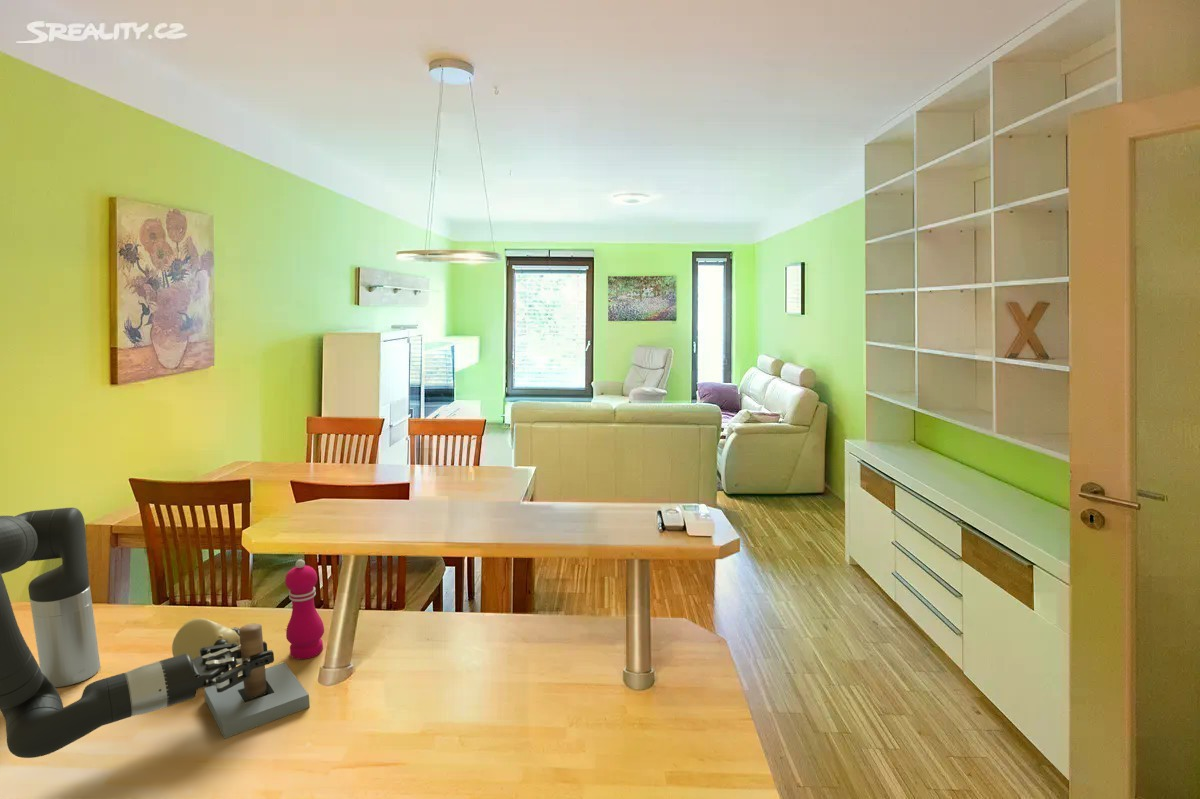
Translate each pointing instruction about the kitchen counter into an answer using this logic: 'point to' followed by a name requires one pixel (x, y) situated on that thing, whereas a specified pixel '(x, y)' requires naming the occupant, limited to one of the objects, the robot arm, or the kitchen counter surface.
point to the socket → (257, 702)
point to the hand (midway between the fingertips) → (269, 651)
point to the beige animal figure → (202, 637)
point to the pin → (251, 646)
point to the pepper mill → (303, 613)
